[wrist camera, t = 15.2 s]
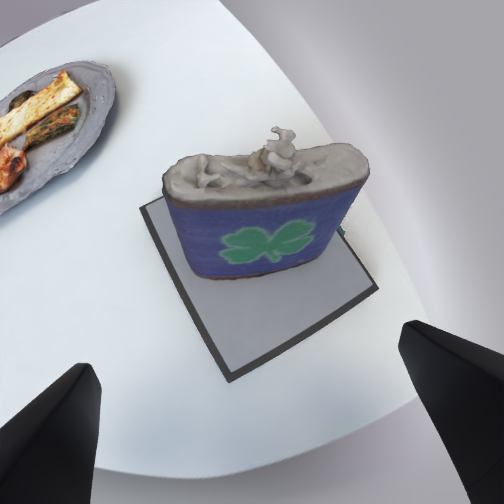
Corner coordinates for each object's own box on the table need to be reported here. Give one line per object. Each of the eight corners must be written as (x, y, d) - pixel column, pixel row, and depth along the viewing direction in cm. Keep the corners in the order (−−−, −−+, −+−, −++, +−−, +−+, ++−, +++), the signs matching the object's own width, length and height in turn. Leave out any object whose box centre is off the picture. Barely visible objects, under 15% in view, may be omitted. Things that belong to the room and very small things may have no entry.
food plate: (-44, 266, 21) (-64, 253, 17) (-33, 139, 28) (-44, 125, 25) (144, 148, 26) (135, 121, 23) (102, 57, 34) (96, 38, 31)
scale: (374, 292, 22) (387, 282, 20) (229, 382, 19) (228, 383, 17) (277, 158, 26) (280, 141, 24) (144, 219, 24) (136, 204, 21)
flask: (319, 225, 21) (372, 112, 11) (330, 264, 20) (402, 164, 10) (186, 246, 20) (147, 131, 10) (191, 289, 19) (147, 194, 9)
